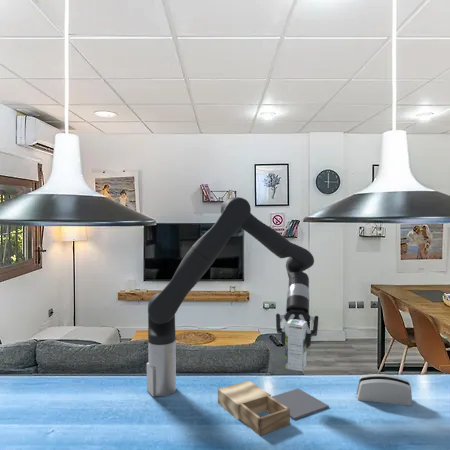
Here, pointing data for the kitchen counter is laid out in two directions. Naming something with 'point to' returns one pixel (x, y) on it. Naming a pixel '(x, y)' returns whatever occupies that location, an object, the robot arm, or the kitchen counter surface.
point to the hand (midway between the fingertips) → (295, 345)
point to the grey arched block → (384, 389)
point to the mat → (300, 403)
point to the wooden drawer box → (254, 407)
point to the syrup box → (295, 345)
